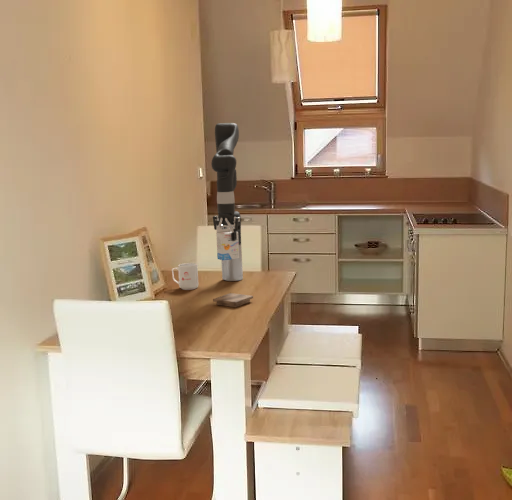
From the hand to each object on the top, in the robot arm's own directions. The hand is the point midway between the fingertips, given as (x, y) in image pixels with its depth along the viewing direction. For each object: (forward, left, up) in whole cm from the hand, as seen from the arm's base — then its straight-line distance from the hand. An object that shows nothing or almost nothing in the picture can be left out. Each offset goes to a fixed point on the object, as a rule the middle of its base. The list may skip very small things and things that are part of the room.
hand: (227, 240), depth 295 cm
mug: (-28, +2, -25) cm, 37 cm away
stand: (+10, -11, -25) cm, 29 cm away
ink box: (0, 0, -8) cm, 8 cm away
